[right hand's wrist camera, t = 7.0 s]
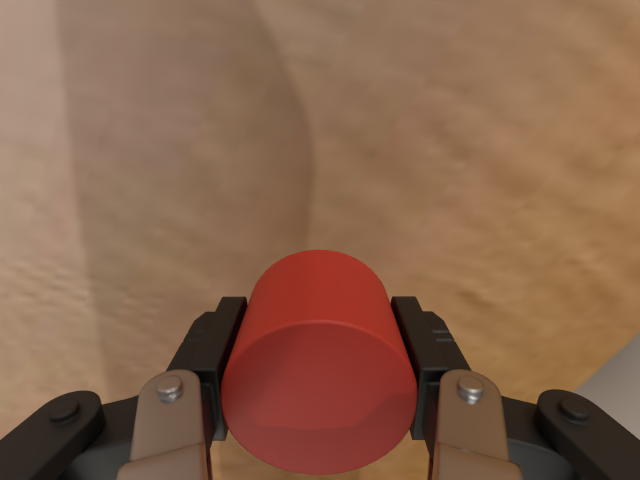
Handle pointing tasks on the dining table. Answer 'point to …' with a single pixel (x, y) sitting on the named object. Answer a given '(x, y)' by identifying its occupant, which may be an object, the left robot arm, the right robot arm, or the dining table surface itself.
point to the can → (319, 368)
